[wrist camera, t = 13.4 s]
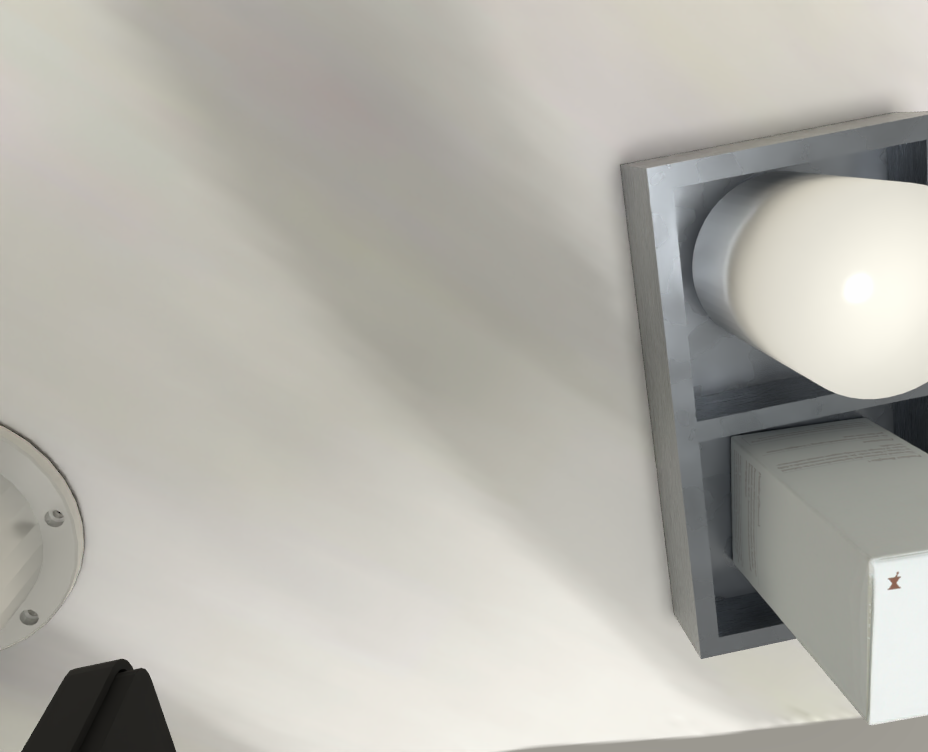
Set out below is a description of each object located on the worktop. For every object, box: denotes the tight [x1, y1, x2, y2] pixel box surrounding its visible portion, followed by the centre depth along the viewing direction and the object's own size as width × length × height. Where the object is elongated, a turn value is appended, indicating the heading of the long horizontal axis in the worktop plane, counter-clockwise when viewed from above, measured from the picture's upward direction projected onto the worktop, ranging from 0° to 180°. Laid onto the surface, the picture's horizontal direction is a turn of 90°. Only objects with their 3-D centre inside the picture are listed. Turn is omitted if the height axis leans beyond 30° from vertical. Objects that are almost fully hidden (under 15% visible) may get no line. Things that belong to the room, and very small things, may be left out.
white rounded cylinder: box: [692, 171, 928, 399], centre depth 35 cm, size 8×8×9 cm
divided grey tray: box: [620, 111, 928, 659], centre depth 40 cm, size 13×24×4 cm, turn 10°
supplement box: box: [731, 418, 928, 725], centre depth 36 cm, size 7×7×13 cm
